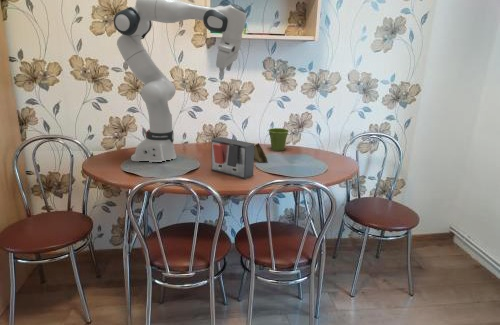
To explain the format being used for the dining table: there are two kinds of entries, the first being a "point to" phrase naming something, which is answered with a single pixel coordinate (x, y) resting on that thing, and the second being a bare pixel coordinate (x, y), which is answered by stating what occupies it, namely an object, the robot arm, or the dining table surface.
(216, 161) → the rocker red
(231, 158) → the rocker black
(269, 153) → the dining table surface
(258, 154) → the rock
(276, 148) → the plant pot
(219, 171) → the rocker switch panel
